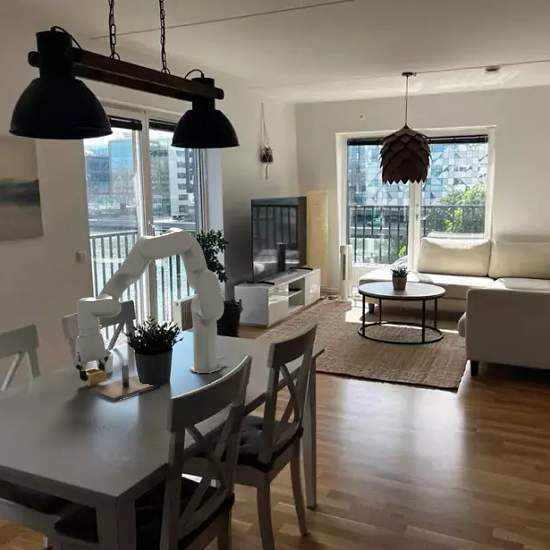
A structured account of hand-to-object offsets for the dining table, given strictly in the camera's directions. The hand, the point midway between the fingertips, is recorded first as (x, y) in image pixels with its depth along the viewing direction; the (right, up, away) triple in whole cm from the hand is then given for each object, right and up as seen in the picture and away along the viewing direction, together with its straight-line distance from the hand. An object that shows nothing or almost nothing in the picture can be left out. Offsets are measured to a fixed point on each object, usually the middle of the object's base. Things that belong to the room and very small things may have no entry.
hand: (92, 377), depth 211 cm
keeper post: (+13, -2, -4) cm, 14 cm away
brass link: (0, -2, 0) cm, 2 cm away
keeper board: (+13, -4, -3) cm, 14 cm away
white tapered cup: (-1, -1, +17) cm, 17 cm away
